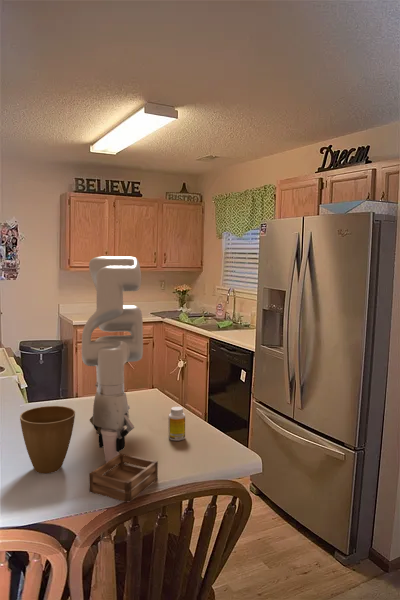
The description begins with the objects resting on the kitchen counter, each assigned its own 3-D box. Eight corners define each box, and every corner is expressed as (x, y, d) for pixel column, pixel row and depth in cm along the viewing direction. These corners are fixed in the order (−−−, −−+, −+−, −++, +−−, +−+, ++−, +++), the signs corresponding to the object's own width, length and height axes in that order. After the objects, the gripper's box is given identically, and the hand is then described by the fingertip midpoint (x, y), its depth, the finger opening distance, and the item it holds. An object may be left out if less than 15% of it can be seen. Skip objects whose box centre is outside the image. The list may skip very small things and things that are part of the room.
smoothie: (102, 455, 145) (102, 410, 143) (123, 455, 145) (123, 410, 144) (99, 465, 139) (99, 418, 137) (121, 464, 139) (121, 418, 138)
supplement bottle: (187, 440, 158) (187, 410, 157) (171, 442, 156) (171, 411, 155) (182, 434, 163) (182, 405, 162) (166, 436, 161) (166, 406, 160)
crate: (120, 470, 136) (120, 453, 135) (157, 478, 130) (157, 461, 130) (89, 492, 123) (89, 473, 123) (128, 502, 118) (128, 483, 117)
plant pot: (23, 484, 127) (21, 425, 125) (19, 462, 140) (18, 408, 139) (80, 474, 133) (79, 418, 131) (71, 454, 146) (71, 403, 145)
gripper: (79, 387, 140) (80, 447, 142) (128, 396, 133) (128, 458, 135) (95, 381, 147) (96, 438, 149) (143, 389, 139) (143, 448, 141)
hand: (111, 447), depth 142 cm, fingers closed on smoothie, 5 cm apart
